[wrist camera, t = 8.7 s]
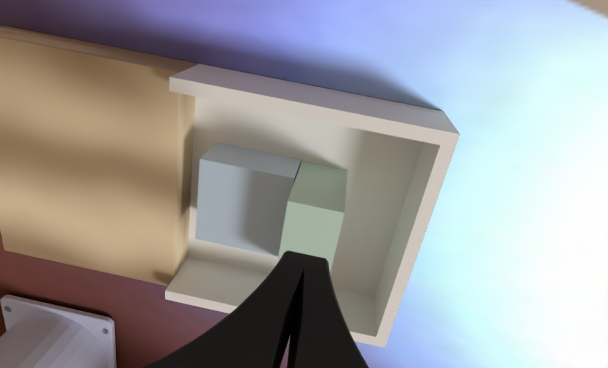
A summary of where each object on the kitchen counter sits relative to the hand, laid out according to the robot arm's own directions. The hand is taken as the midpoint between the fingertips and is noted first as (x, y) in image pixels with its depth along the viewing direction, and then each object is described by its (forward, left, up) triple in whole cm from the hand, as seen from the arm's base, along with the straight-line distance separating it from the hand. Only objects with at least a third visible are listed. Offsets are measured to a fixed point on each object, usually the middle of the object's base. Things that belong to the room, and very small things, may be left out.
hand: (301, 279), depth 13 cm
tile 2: (-2, +4, -9) cm, 10 cm away
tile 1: (-2, +1, -7) cm, 7 cm away
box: (-2, +1, -9) cm, 10 cm away
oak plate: (-2, +12, -9) cm, 15 cm away
